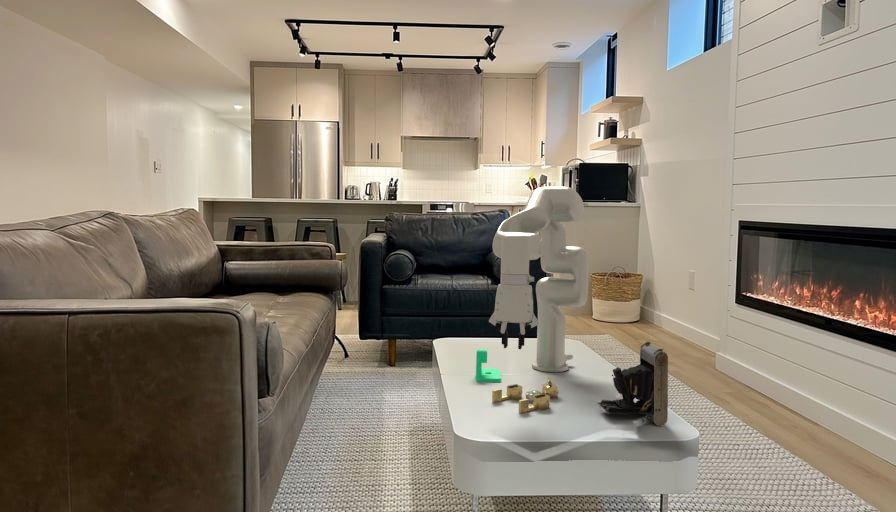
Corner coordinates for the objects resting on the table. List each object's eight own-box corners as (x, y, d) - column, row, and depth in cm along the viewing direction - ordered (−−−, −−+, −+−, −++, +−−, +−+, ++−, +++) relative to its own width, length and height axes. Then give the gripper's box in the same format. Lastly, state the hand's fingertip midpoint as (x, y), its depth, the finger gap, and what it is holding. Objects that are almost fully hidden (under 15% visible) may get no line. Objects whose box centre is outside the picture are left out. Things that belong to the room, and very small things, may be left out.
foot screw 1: (514, 393, 167) (514, 381, 167) (525, 397, 164) (525, 385, 163) (487, 400, 161) (488, 387, 161) (498, 404, 157) (498, 391, 157)
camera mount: (501, 387, 179) (501, 354, 178) (476, 386, 179) (477, 353, 178) (499, 376, 190) (499, 345, 190) (475, 375, 191) (476, 344, 190)
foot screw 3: (558, 399, 163) (558, 386, 163) (542, 398, 163) (542, 386, 163) (556, 388, 173) (556, 376, 173) (541, 387, 173) (541, 376, 173)
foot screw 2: (540, 403, 159) (541, 390, 158) (552, 407, 155) (553, 395, 155) (513, 410, 153) (514, 397, 152) (525, 415, 149) (526, 402, 149)
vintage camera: (596, 415, 155) (596, 343, 153) (652, 413, 156) (653, 340, 155) (609, 430, 146) (610, 352, 144) (668, 426, 147) (670, 350, 145)
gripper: (546, 280, 157) (544, 346, 158) (486, 277, 161) (484, 342, 162) (544, 283, 150) (542, 353, 151) (481, 280, 153) (480, 348, 155)
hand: (512, 347), depth 156 cm, fingers open, 3 cm apart
